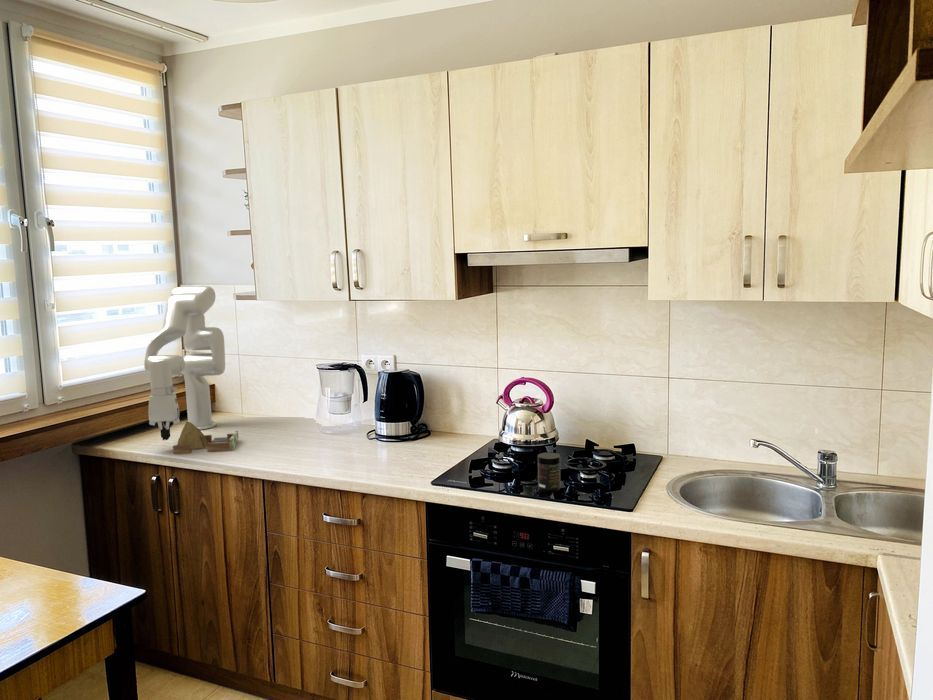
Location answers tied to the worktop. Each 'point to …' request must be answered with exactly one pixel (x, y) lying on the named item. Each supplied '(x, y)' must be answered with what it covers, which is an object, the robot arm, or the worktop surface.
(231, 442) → the box
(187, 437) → the rock
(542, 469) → the supplement container
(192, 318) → the robot arm
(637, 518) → the worktop surface
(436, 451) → the worktop surface
